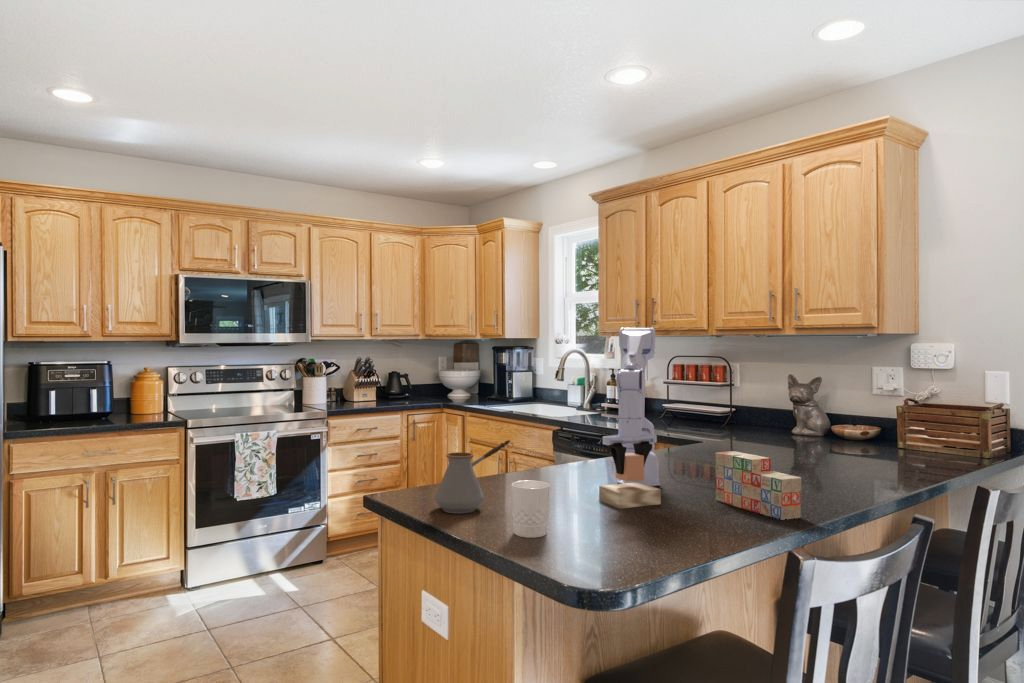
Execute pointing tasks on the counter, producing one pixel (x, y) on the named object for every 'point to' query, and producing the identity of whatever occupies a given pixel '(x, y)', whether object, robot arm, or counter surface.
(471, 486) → the coffee pot
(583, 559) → the counter surface
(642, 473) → the terracotta block
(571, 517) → the counter surface
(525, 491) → the white cup
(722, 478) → the stack of blocks
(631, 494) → the birch block
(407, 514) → the counter surface
